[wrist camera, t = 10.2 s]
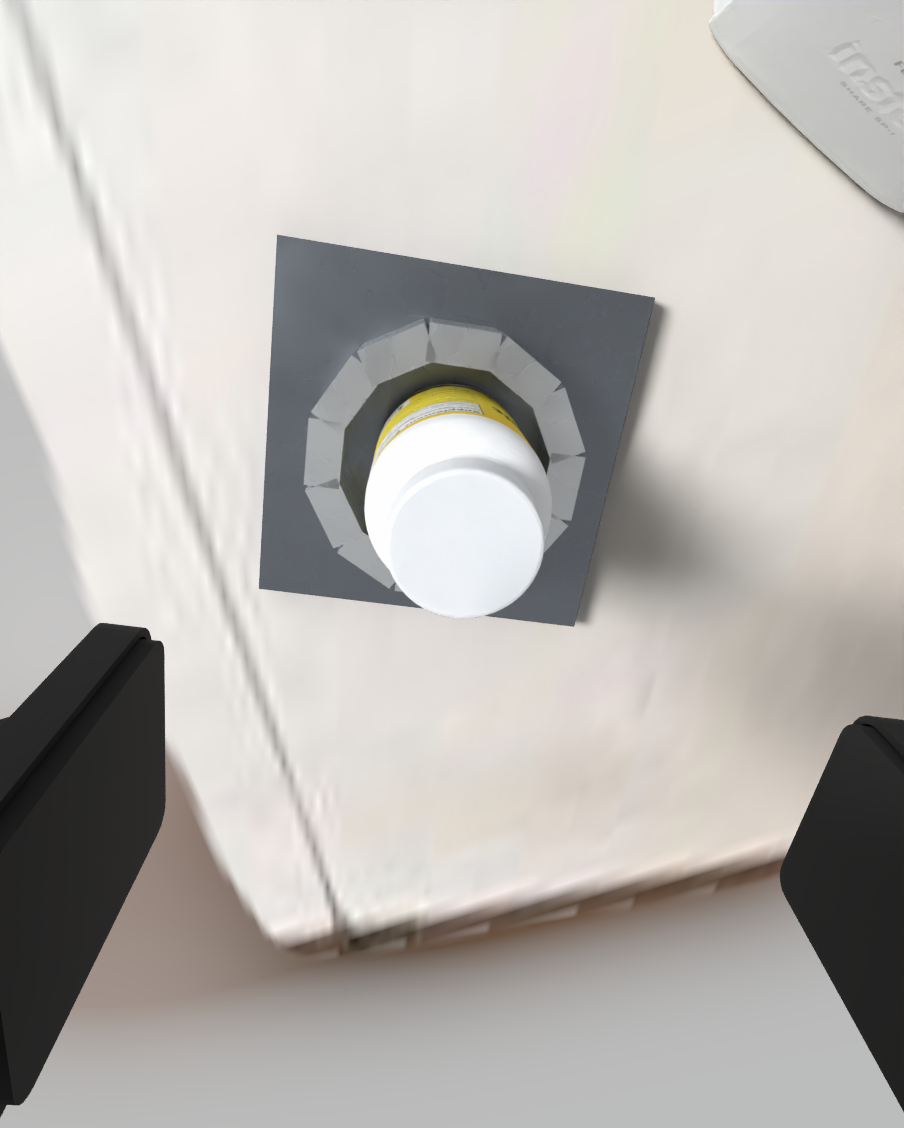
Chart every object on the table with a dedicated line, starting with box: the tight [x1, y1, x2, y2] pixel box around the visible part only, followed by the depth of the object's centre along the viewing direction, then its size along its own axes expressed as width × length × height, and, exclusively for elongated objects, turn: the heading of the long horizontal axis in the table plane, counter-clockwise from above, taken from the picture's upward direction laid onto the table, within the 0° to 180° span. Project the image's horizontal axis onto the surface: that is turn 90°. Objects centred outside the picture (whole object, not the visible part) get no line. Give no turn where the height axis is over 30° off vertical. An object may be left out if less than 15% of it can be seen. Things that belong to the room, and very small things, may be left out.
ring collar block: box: [259, 235, 655, 626], centre depth 26 cm, size 13×13×4 cm
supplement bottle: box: [364, 384, 552, 618], centre depth 22 cm, size 5×5×10 cm
